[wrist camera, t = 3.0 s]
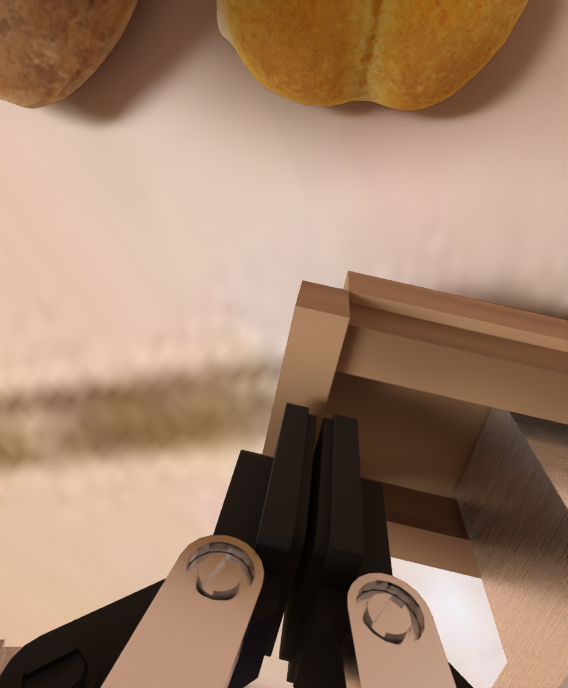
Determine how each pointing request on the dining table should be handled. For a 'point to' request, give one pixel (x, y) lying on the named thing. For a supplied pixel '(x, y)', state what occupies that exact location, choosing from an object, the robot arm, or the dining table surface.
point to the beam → (418, 393)
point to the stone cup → (55, 45)
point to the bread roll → (366, 46)
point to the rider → (522, 541)
